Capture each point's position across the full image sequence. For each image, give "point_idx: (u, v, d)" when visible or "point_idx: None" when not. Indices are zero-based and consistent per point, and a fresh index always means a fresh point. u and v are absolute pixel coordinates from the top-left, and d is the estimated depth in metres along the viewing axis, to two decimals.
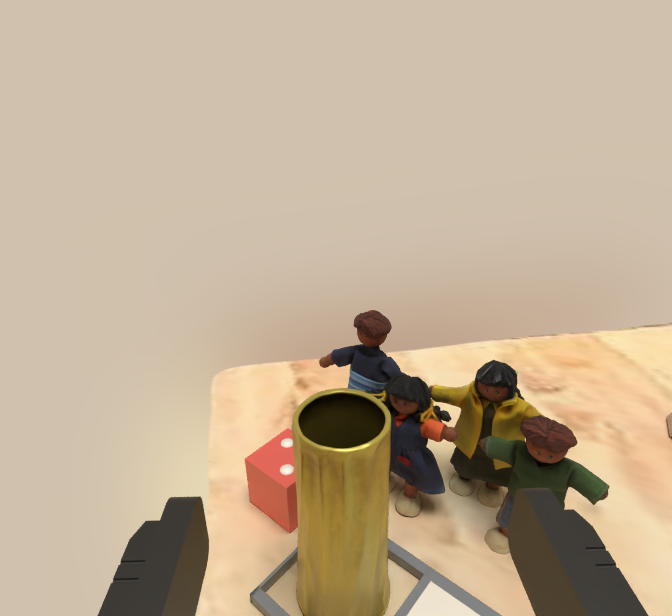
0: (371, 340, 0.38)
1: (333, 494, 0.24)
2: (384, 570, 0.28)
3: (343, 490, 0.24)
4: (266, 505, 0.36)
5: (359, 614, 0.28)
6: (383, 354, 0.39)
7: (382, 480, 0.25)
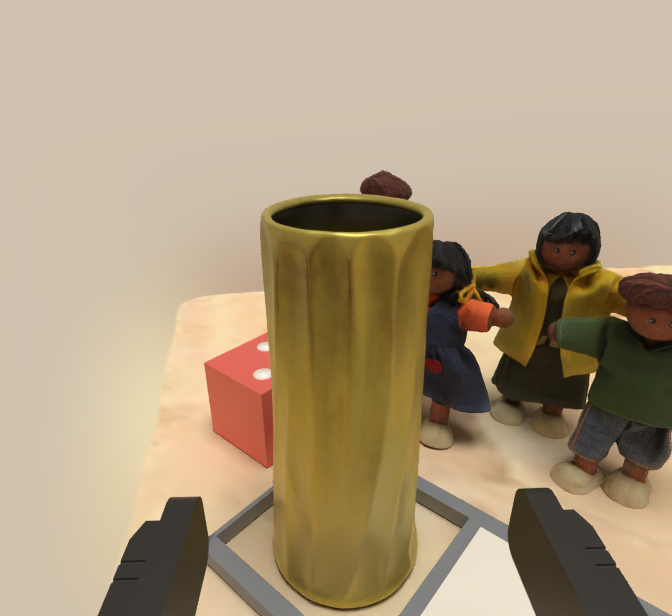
0: None
1: (331, 334, 0.13)
2: (413, 499, 0.17)
3: (349, 323, 0.13)
4: (234, 431, 0.25)
5: (372, 571, 0.17)
6: None
7: (416, 324, 0.15)
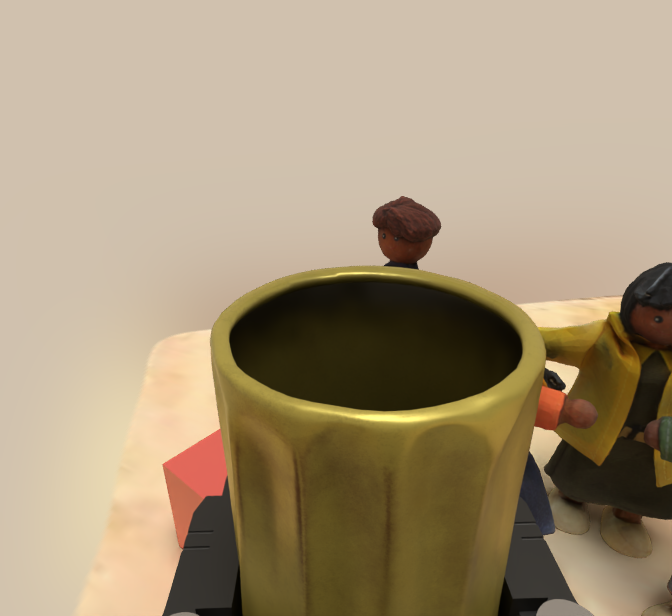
0: (405, 247, 0.21)
1: (347, 586, 0.07)
2: None
3: (384, 576, 0.06)
4: None
5: None
6: None
7: (502, 528, 0.08)
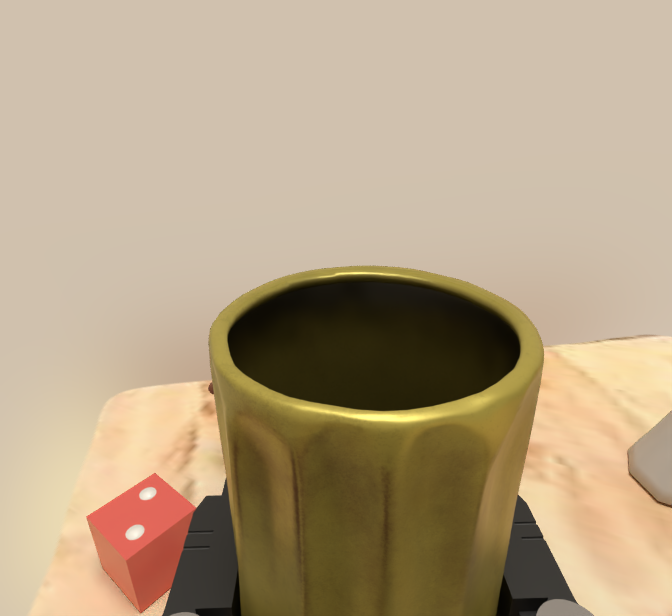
0: None
1: (345, 586, 0.07)
2: None
3: (383, 576, 0.06)
4: (115, 575, 0.28)
5: None
6: None
7: (501, 528, 0.08)
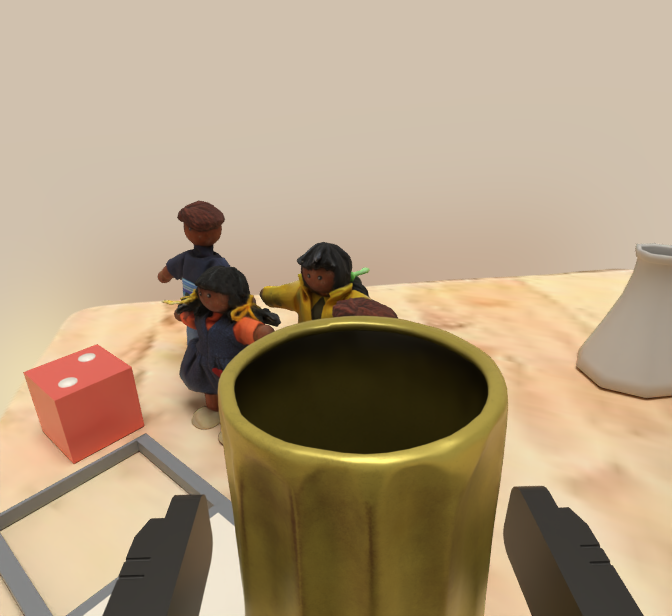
0: (196, 234, 0.31)
1: (338, 608, 0.08)
2: None
3: (370, 598, 0.07)
4: (51, 431, 0.29)
5: None
6: (217, 255, 0.32)
7: (478, 555, 0.09)
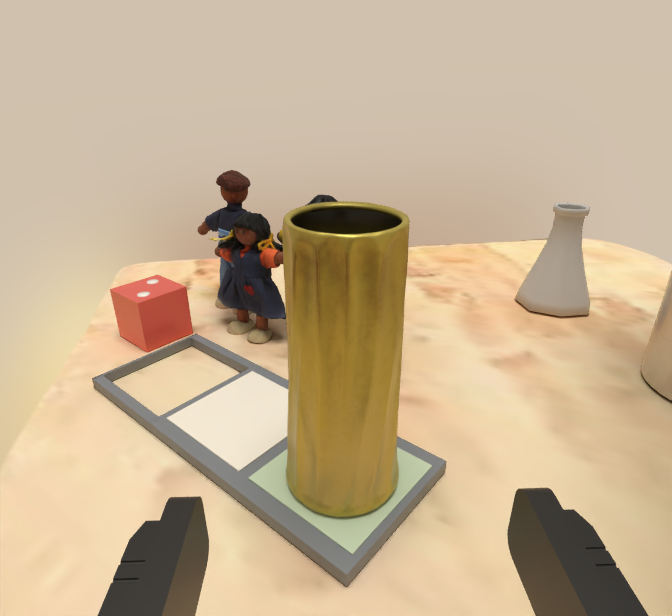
0: (230, 194, 0.43)
1: (333, 306, 0.19)
2: (394, 435, 0.23)
3: (346, 298, 0.18)
4: (129, 332, 0.41)
5: (362, 489, 0.23)
6: (244, 210, 0.44)
7: (396, 301, 0.20)
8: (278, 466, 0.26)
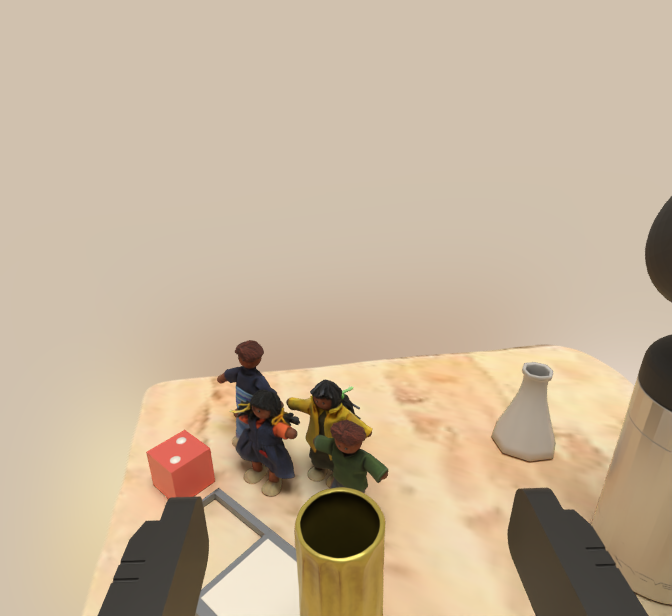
0: (246, 363, 0.50)
1: (331, 595, 0.26)
2: None
3: (339, 593, 0.26)
4: (162, 487, 0.48)
5: None
6: (258, 373, 0.52)
7: (376, 579, 0.28)
8: None
